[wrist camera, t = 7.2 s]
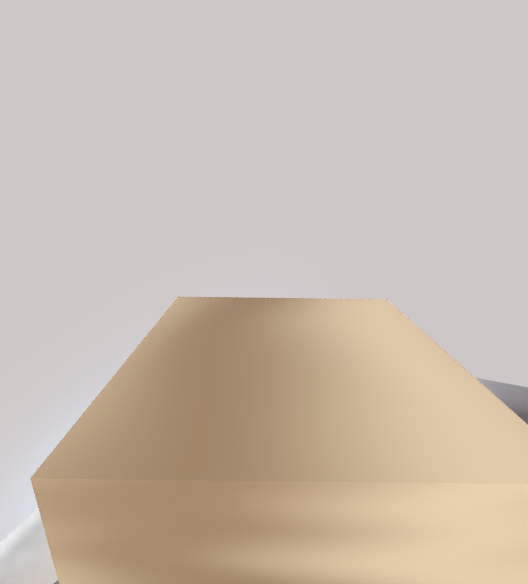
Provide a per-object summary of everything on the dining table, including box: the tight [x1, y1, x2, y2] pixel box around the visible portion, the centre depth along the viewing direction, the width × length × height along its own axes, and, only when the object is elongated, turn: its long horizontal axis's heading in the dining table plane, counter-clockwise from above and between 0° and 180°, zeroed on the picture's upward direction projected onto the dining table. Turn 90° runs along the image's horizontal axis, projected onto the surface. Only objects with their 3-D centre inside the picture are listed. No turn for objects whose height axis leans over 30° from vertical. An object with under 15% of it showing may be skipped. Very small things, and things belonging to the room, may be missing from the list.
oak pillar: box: [31, 297, 528, 584], centre depth 8 cm, size 6×6×12 cm
